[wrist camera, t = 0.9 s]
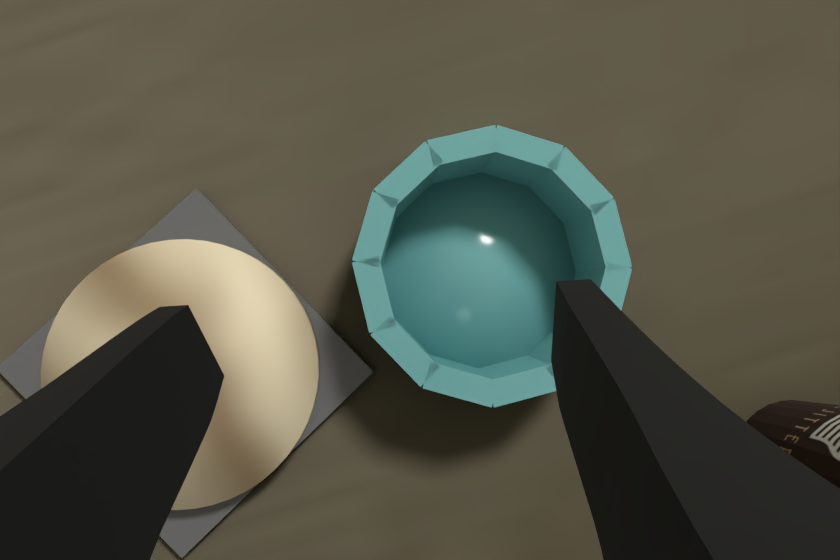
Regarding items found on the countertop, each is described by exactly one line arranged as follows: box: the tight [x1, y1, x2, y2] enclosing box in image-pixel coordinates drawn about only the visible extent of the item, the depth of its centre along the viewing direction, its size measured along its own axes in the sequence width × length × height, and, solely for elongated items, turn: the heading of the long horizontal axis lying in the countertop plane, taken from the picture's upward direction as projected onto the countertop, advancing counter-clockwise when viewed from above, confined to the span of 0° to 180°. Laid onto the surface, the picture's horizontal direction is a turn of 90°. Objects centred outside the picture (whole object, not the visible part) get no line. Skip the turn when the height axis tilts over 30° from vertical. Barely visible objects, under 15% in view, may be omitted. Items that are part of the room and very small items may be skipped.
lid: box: [41, 239, 320, 510], centre depth 20 cm, size 12×12×5 cm
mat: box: [0, 189, 373, 558], centre depth 22 cm, size 12×12×1 cm
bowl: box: [352, 125, 632, 408], centre depth 22 cm, size 11×11×4 cm
